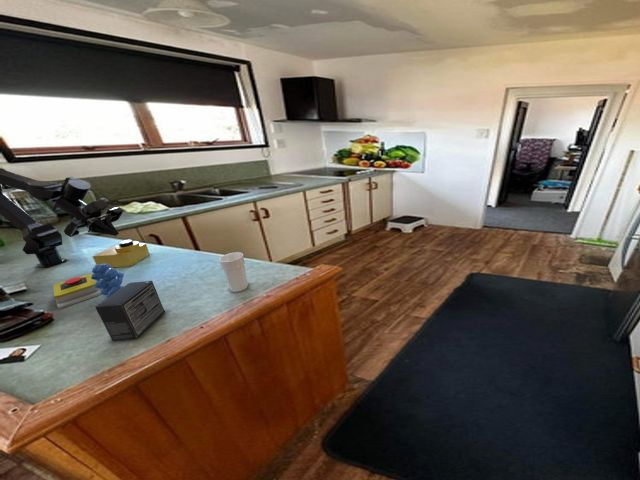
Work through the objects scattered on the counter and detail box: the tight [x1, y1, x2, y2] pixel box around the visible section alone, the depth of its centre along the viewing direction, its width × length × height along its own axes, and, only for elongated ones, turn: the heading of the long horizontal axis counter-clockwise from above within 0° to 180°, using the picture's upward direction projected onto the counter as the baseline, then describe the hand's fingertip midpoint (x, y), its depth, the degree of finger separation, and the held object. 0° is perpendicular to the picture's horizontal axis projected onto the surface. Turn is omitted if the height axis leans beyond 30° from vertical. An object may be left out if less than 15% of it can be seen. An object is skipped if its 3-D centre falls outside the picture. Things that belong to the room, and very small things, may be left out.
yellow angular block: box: [92, 240, 151, 268], centre depth 107 cm, size 12×10×7 cm
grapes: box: [91, 264, 125, 298], centre depth 83 cm, size 12×7×12 cm, turn 71°
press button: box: [118, 239, 134, 247], centre depth 106 cm, size 4×4×2 cm
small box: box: [94, 280, 166, 342], centre depth 70 cm, size 11×6×10 cm, turn 5°
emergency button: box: [53, 273, 102, 309], centre depth 87 cm, size 9×4×15 cm
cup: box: [218, 251, 249, 293], centre depth 85 cm, size 7×7×11 cm
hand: (117, 234), depth 105 cm, fingers closed
